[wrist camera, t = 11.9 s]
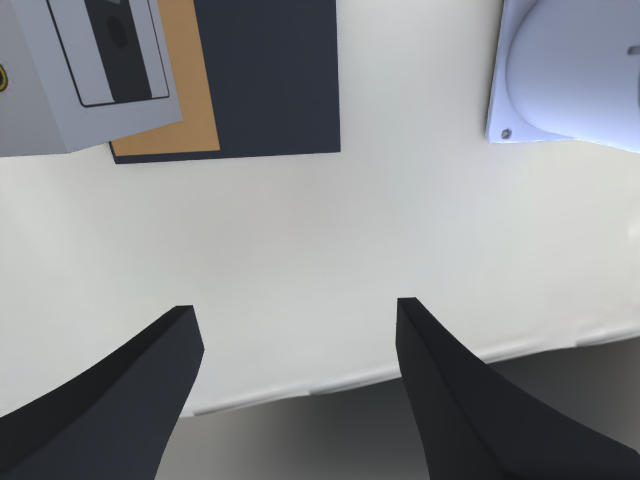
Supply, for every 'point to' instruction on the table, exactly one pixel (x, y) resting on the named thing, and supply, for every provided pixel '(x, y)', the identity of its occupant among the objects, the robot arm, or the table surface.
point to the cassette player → (81, 74)
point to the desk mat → (246, 81)
